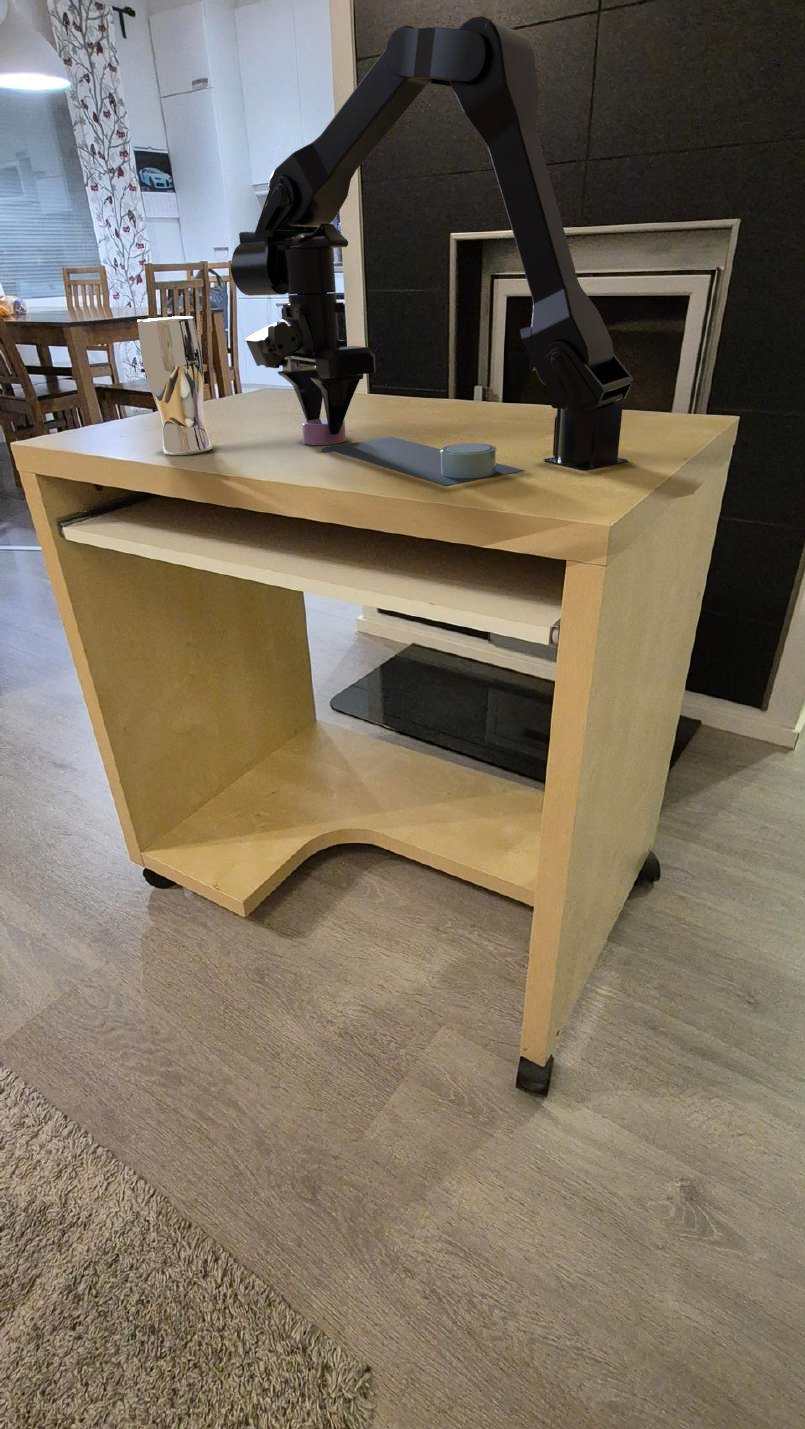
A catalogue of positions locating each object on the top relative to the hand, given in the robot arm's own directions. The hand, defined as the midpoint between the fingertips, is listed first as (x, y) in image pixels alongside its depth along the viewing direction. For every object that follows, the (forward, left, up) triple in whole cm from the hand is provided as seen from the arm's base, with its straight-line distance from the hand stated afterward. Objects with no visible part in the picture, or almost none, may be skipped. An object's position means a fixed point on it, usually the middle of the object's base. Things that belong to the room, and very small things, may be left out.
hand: (323, 431), depth 100 cm
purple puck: (0, 0, -1) cm, 1 cm away
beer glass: (+7, +16, -1) cm, 18 cm away
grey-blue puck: (-29, -2, -1) cm, 29 cm away
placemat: (-19, -2, -1) cm, 19 cm away
